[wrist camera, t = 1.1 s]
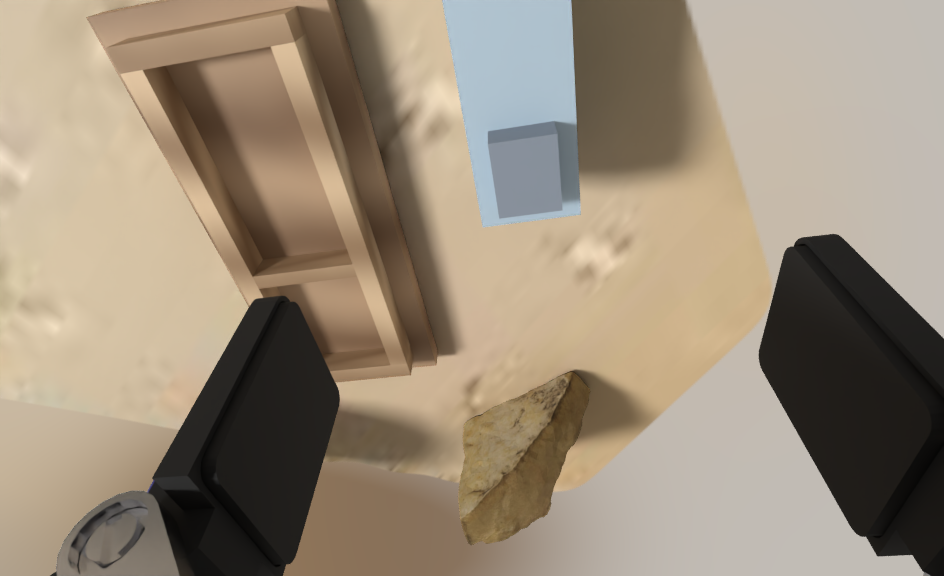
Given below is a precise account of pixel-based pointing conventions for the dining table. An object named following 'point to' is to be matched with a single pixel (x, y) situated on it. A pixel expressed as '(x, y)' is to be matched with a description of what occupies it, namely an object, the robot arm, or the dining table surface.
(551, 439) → the rock
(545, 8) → the light blue block
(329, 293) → the frame
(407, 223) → the dining table surface
